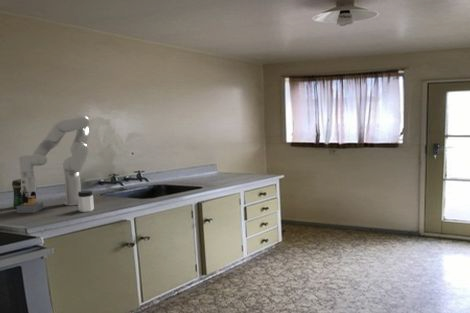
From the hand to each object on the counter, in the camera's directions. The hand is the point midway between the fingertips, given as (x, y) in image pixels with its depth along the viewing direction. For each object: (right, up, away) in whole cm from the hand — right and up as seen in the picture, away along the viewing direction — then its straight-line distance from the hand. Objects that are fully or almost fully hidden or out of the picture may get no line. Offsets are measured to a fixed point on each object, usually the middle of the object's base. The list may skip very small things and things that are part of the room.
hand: (29, 201), depth 248 cm
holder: (0, -6, +1) cm, 6 cm away
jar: (+37, -6, -3) cm, 38 cm away
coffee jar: (-11, -5, +12) cm, 17 cm away
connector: (0, -5, +1) cm, 5 cm away
